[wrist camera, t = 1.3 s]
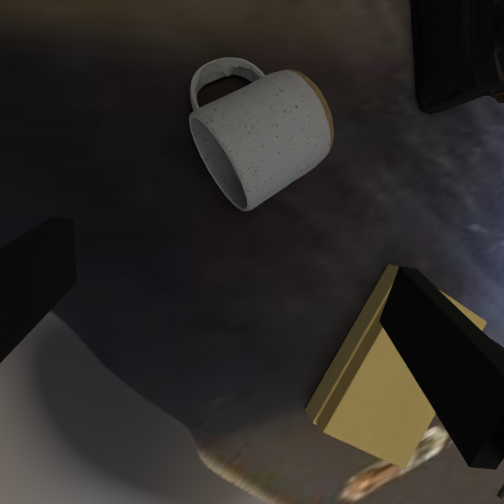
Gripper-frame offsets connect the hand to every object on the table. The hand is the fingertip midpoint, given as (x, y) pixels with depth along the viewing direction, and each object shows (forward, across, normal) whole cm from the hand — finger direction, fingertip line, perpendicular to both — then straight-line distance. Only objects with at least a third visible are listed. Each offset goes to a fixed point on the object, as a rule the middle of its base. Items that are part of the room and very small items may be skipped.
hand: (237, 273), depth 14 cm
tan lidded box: (+14, +16, -14) cm, 26 cm away
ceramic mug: (+17, -1, +4) cm, 17 cm away
